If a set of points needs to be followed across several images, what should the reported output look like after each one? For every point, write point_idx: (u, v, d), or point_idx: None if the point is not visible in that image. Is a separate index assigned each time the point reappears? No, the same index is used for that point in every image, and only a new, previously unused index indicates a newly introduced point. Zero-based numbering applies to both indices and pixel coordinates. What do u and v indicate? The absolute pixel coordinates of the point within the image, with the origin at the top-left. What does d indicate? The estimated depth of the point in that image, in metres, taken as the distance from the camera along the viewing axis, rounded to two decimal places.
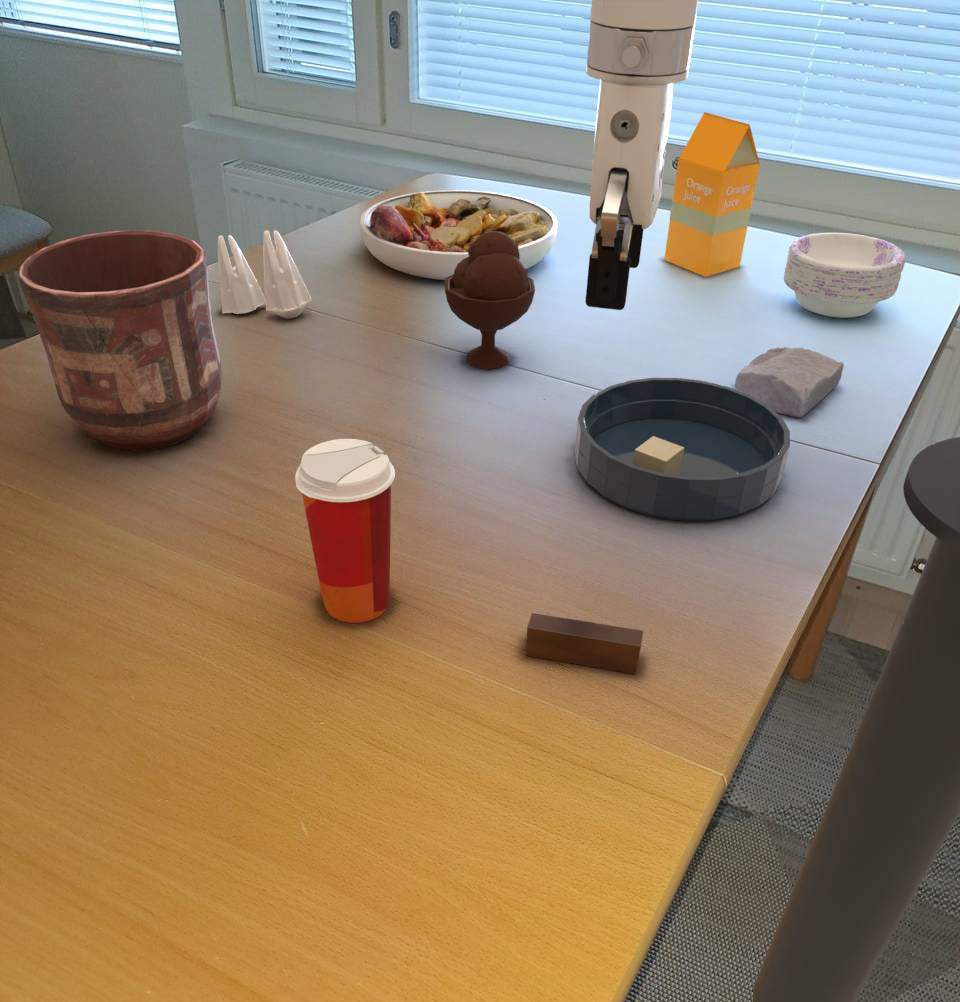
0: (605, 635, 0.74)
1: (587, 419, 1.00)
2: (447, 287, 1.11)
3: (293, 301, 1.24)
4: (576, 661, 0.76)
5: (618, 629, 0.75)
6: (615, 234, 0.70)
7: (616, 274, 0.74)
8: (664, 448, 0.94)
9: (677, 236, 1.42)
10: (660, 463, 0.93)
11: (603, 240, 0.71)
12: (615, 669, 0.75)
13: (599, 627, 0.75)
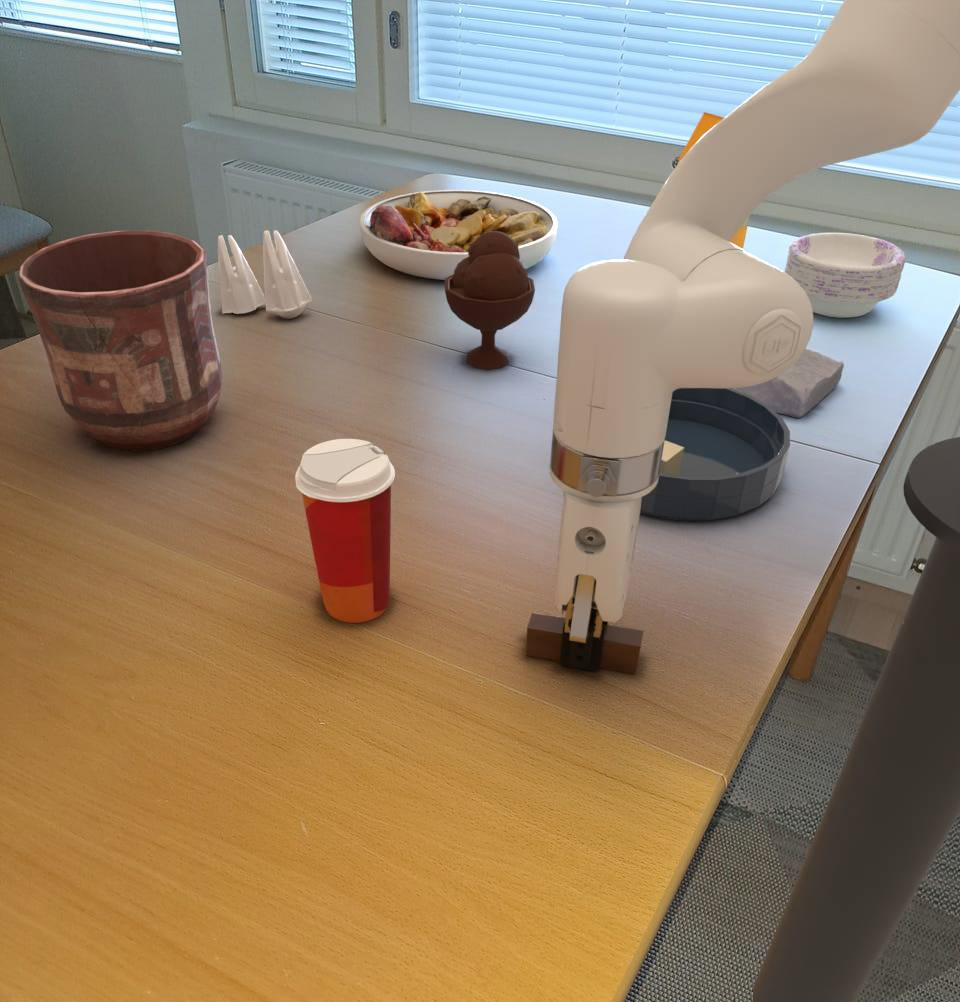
0: (605, 635, 0.74)
1: None
2: (447, 287, 1.11)
3: (293, 301, 1.24)
4: None
5: (618, 629, 0.75)
6: (586, 637, 0.69)
7: (590, 646, 0.73)
8: (664, 448, 0.94)
9: None
10: None
11: None
12: (615, 669, 0.75)
13: None
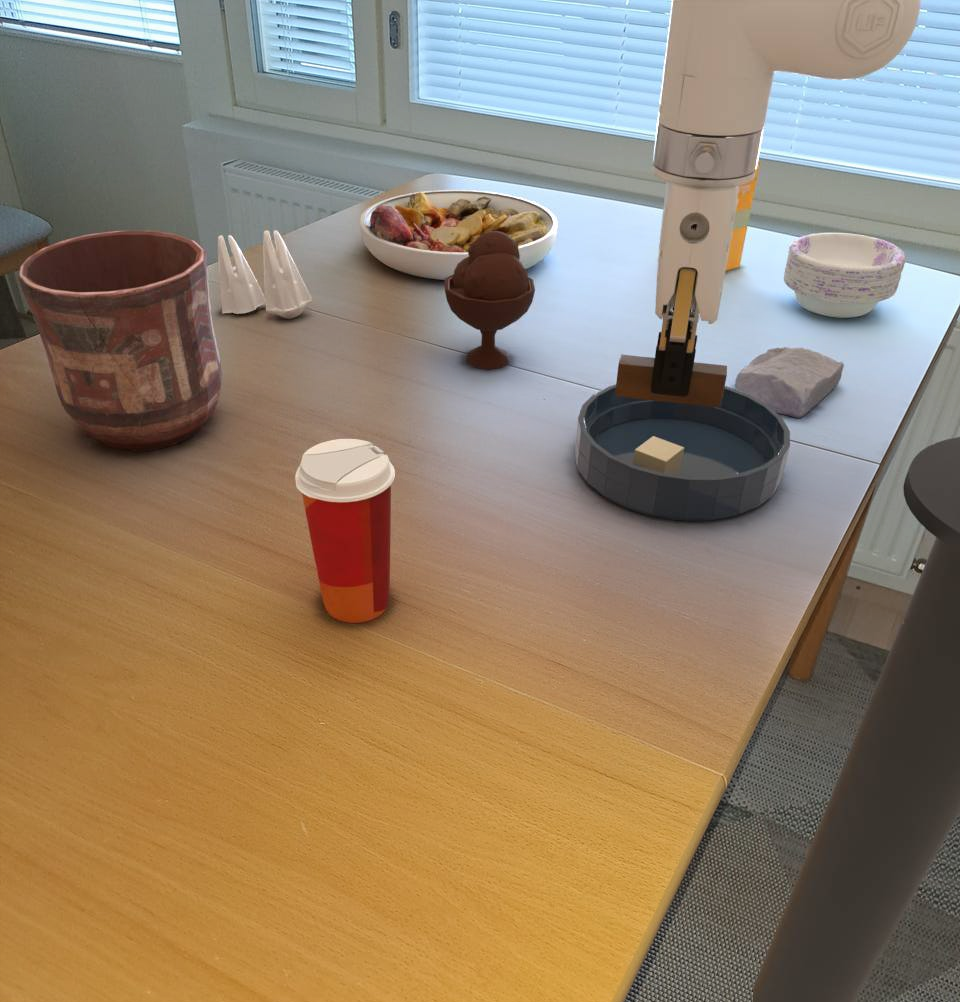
0: None
1: (587, 419, 1.00)
2: (447, 287, 1.11)
3: (293, 301, 1.24)
4: (663, 398, 0.81)
5: (703, 364, 0.80)
6: None
7: (682, 365, 0.77)
8: (664, 448, 0.94)
9: None
10: (660, 463, 0.93)
11: None
12: (700, 404, 0.80)
13: None
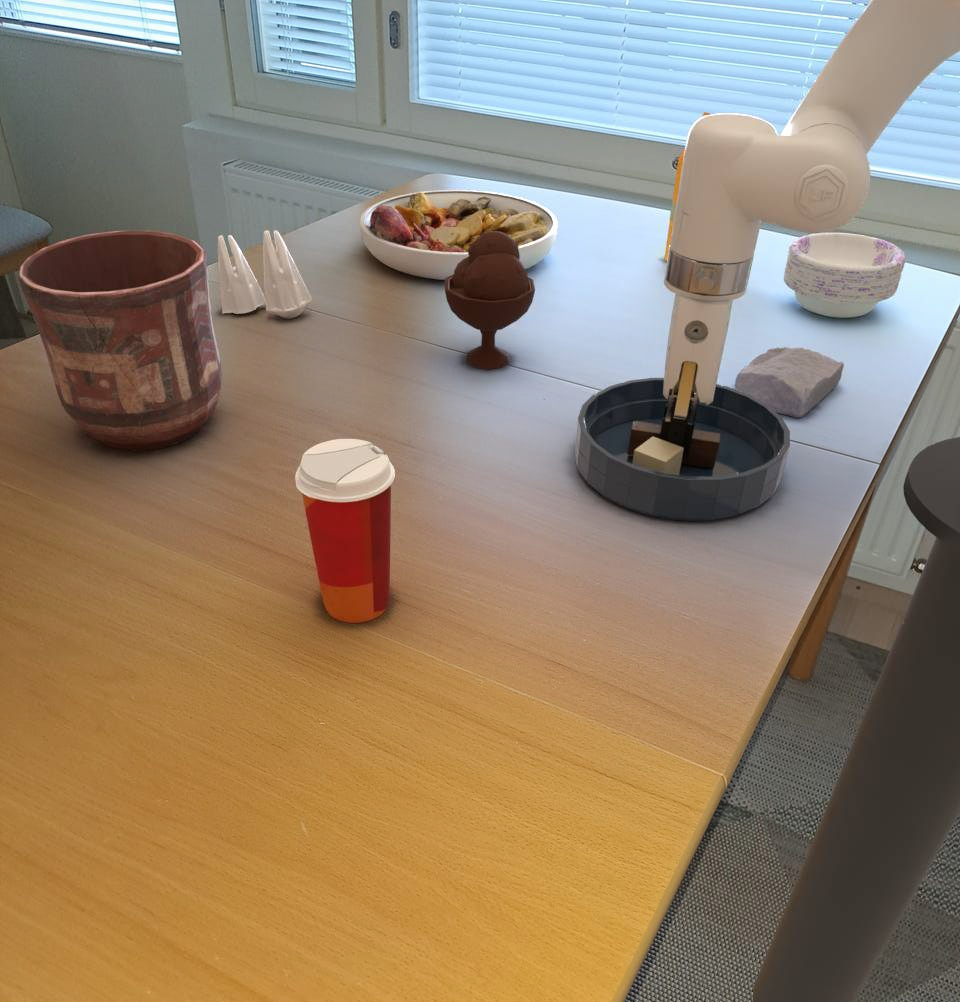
0: None
1: (587, 419, 1.00)
2: (447, 287, 1.11)
3: (293, 301, 1.24)
4: None
5: (701, 432, 0.97)
6: None
7: (683, 434, 0.94)
8: (663, 448, 0.94)
9: None
10: (660, 463, 0.92)
11: None
12: (697, 464, 0.97)
13: None
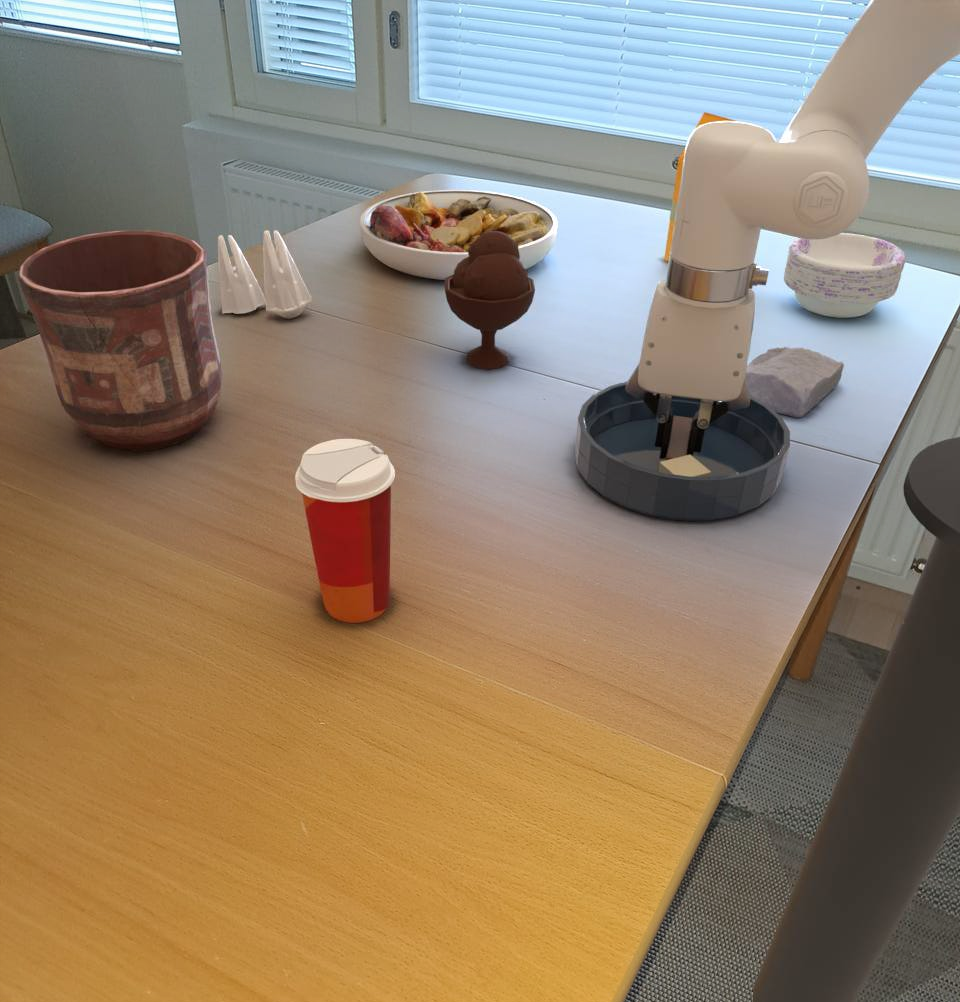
0: (685, 429, 0.98)
1: (587, 419, 1.00)
2: (447, 287, 1.11)
3: (293, 301, 1.24)
4: None
5: (675, 424, 0.99)
6: None
7: None
8: (690, 467, 0.91)
9: None
10: None
11: None
12: None
13: (676, 431, 0.98)
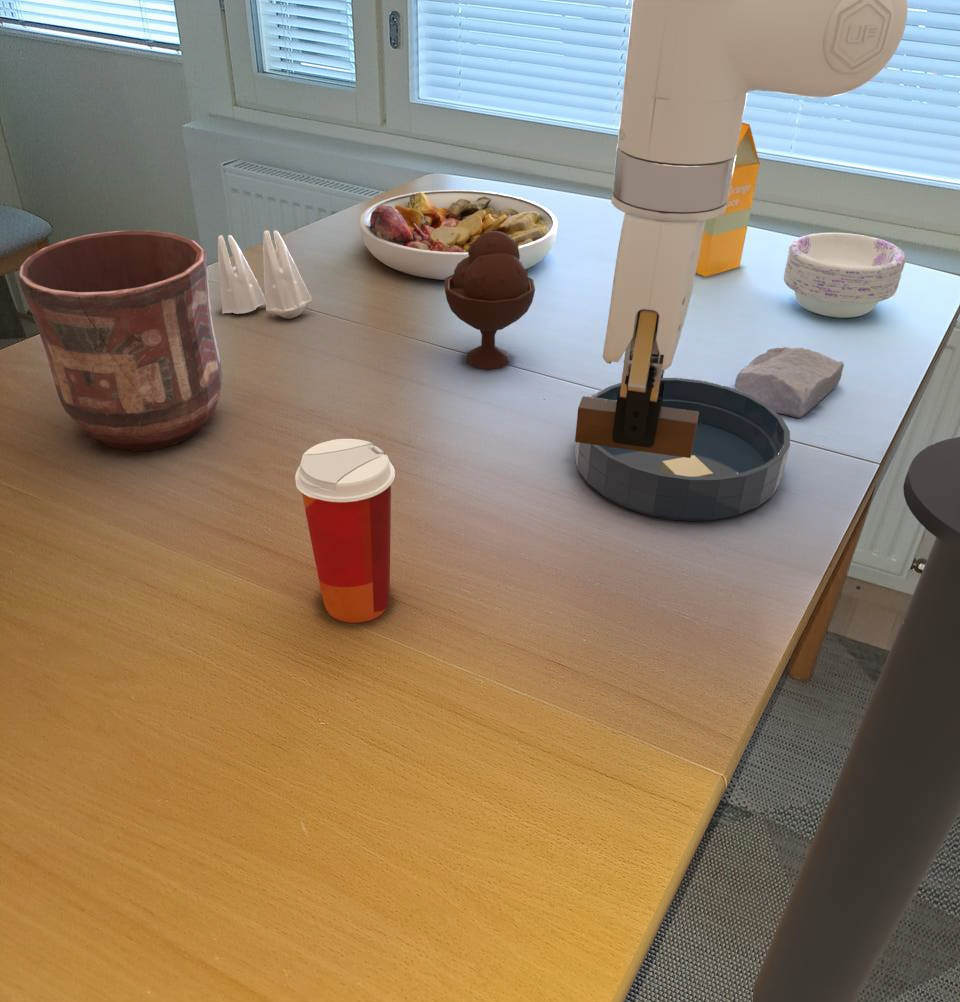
0: None
1: None
2: (447, 287, 1.11)
3: (293, 301, 1.24)
4: None
5: (604, 408, 0.72)
6: None
7: None
8: (692, 468, 0.91)
9: None
10: None
11: None
12: None
13: None
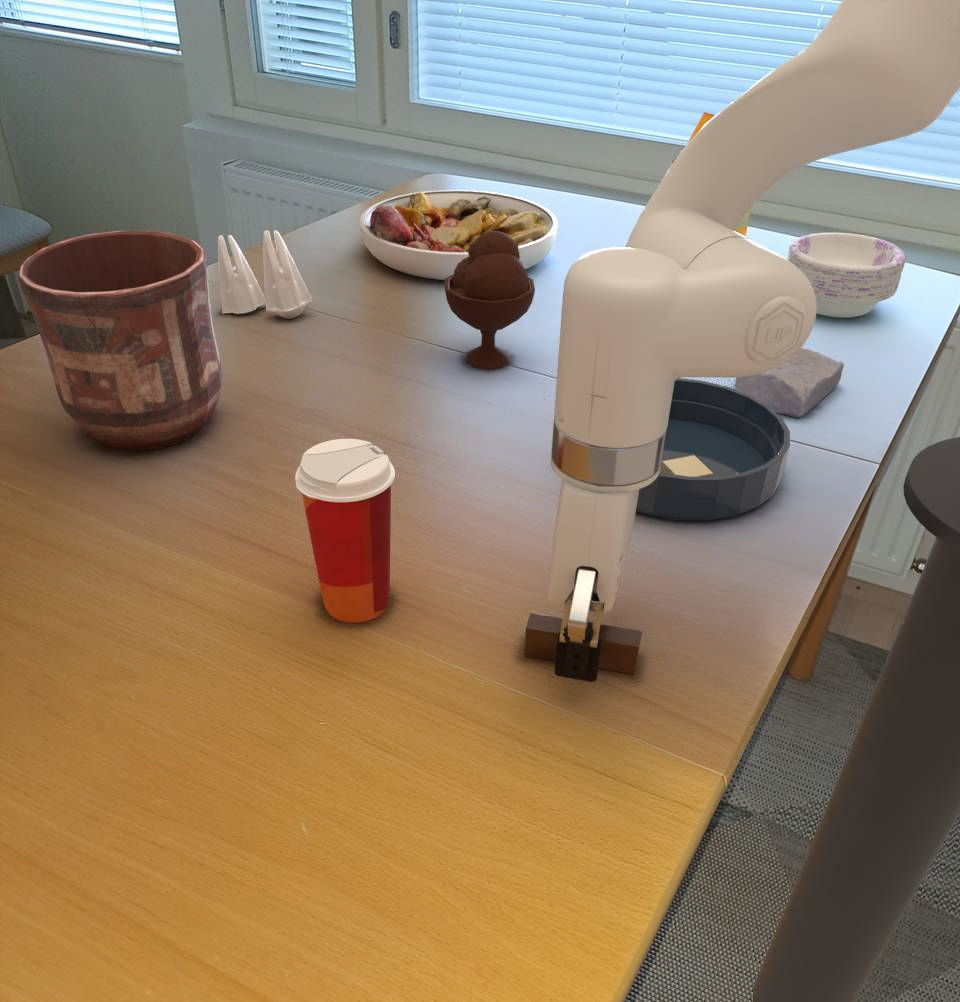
0: None
1: None
2: (447, 287, 1.11)
3: (293, 301, 1.24)
4: None
5: (550, 629, 0.75)
6: None
7: None
8: (692, 468, 0.91)
9: None
10: None
11: None
12: None
13: None
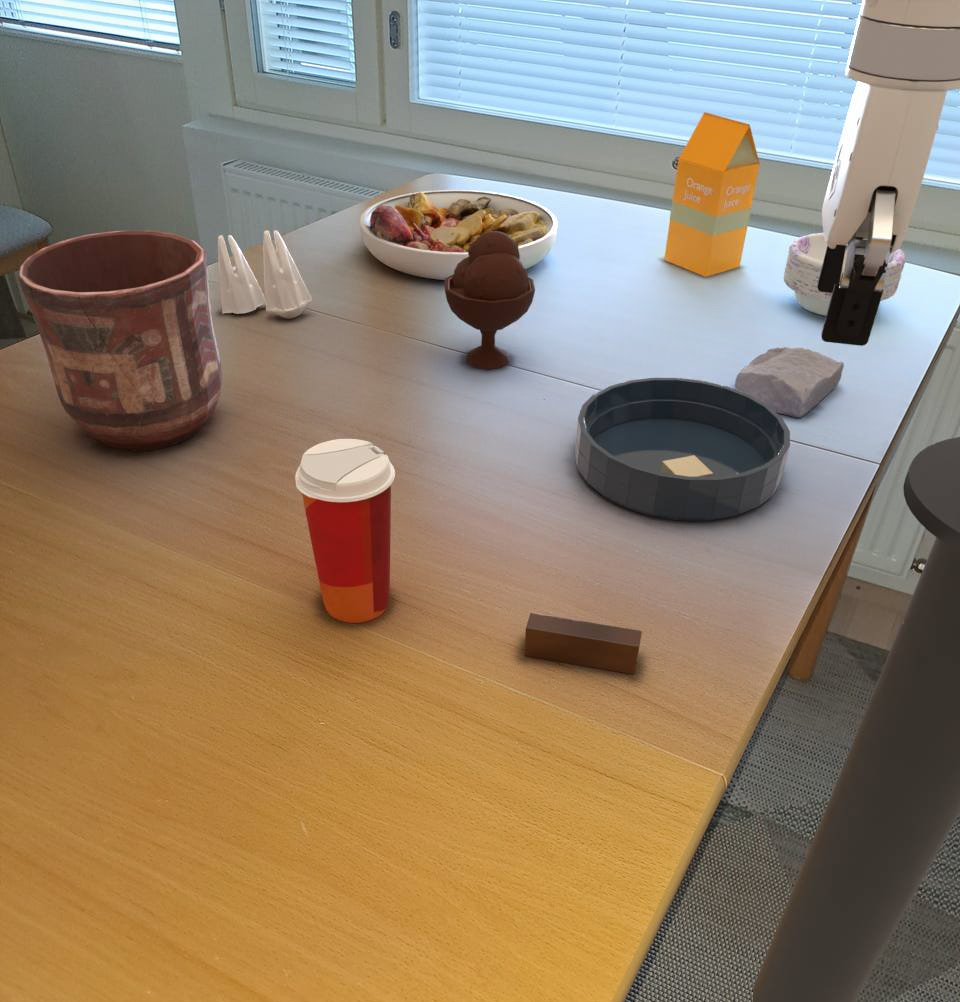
0: (564, 622, 0.75)
1: (587, 419, 1.00)
2: (447, 287, 1.11)
3: (293, 301, 1.24)
4: None
5: (550, 629, 0.75)
6: None
7: None
8: (692, 468, 0.91)
9: (677, 236, 1.42)
10: None
11: None
12: None
13: (569, 630, 0.74)
